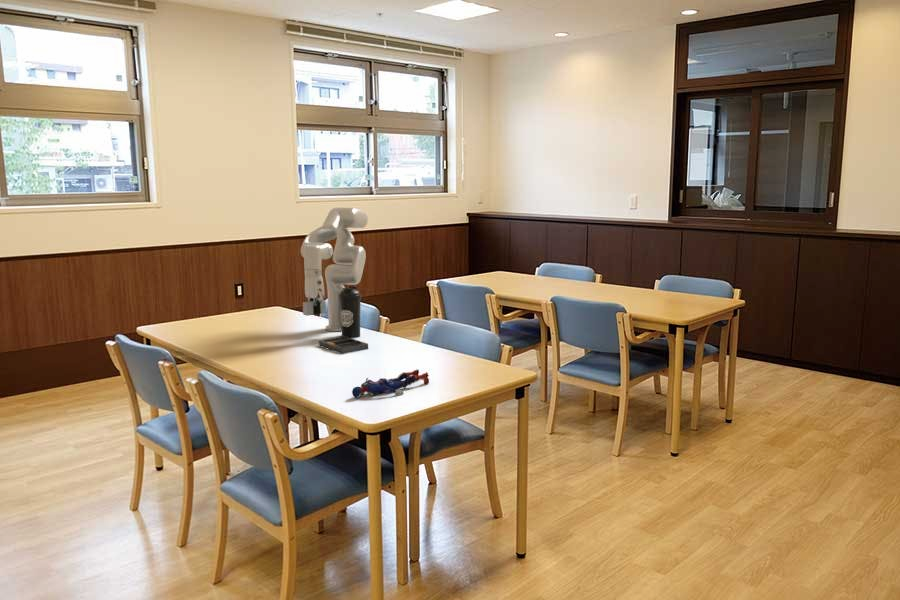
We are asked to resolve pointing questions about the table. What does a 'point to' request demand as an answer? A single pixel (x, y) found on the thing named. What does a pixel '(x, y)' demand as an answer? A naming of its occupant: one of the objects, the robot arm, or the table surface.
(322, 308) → the rectangular block
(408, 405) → the table surface
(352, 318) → the water bottle
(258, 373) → the table surface
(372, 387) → the figurine
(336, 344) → the rack
